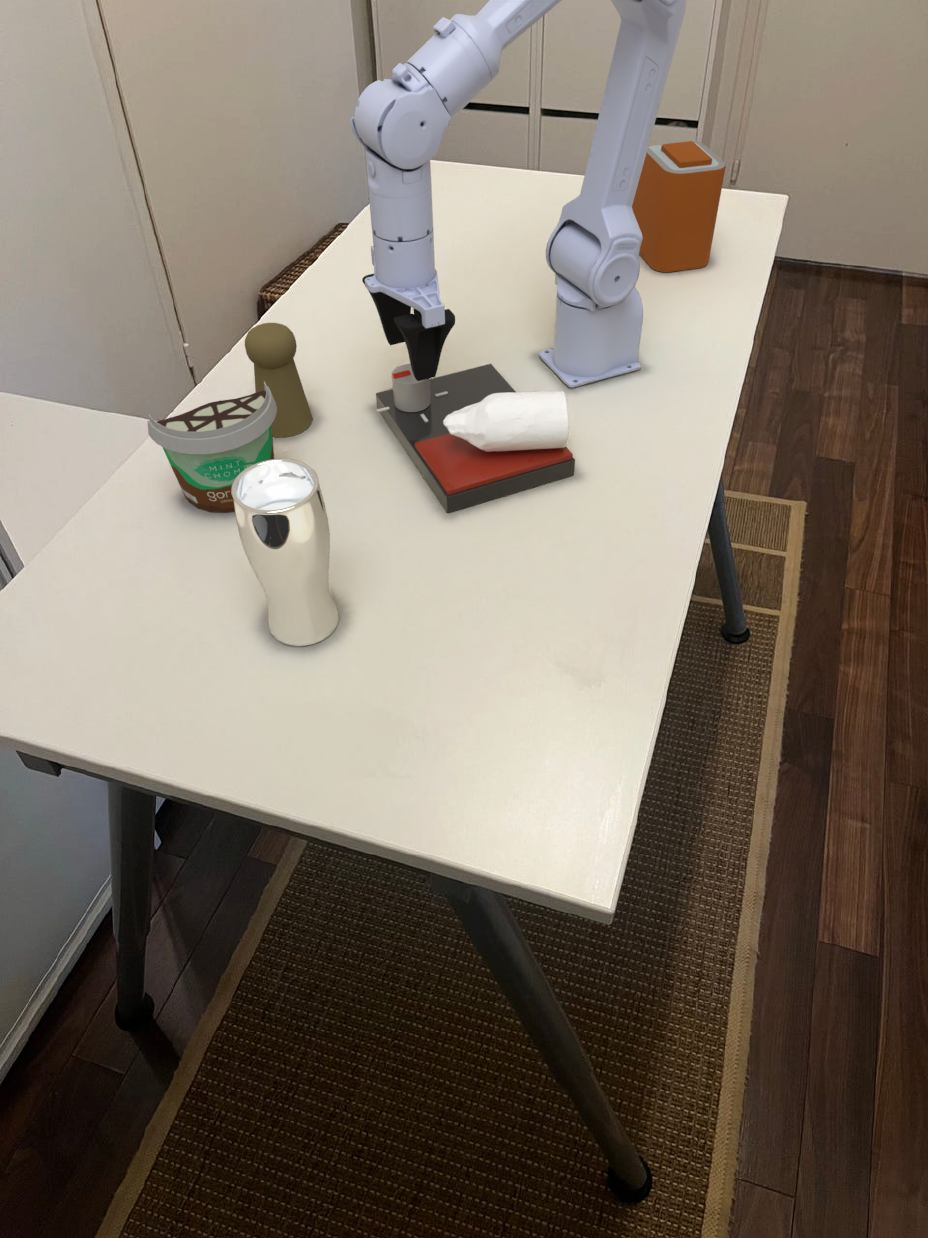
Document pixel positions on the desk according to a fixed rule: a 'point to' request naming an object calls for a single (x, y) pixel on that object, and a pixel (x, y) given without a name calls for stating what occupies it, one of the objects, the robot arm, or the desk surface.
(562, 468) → the hob
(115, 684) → the desk surface
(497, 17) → the robot arm
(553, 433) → the white bottle
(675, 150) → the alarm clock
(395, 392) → the hob knob
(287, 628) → the beer glass
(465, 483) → the plate
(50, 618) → the desk surface
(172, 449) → the food container
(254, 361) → the olive pawn
